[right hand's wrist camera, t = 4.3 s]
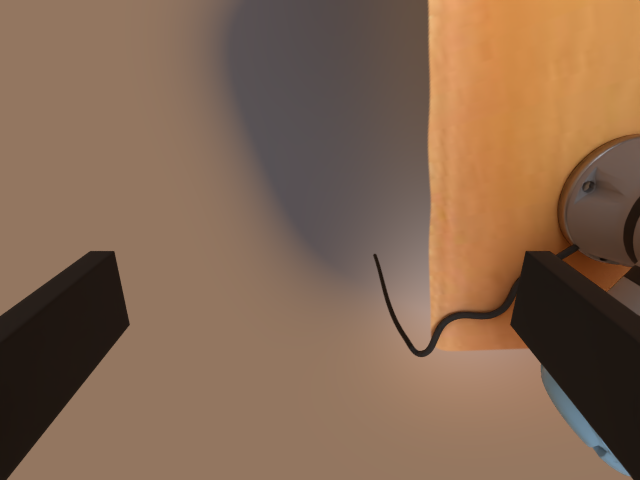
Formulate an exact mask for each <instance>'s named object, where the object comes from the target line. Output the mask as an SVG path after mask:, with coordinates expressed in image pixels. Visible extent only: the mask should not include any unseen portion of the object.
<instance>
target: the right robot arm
mask: <svg viewBox="0 0 640 480" xmlns="http://www.w3.org/2000/svg"><path fill="white" fill-rule="evenodd" d="M558 219H559V225H560V228H561V231H562V233H563V235H564V237H565V238H566V240H567V241H568V242H569V243H570V244H571V245H572V246H570V247H568V248H567V249H565V250H563V251H562V252H560V253H559V254H557V255H554V254H553V253H552V252H550V251H526V252H525V257H524V262H523V267H522V272H521V276H520V277H519V278H518V279H517V281H516V282H515V283H514V285H513V287H512V288H511V290H510V293H509V295H508V297H507V299H506V301H505V302H504V303H503V305H502V306H500V307H499V308H498V309H496V310H494V311H492V312H487V313H475V312H458V313H454V314H451V315H449V316H447V317H446V318H444V319H443V320H442V321H441V322H440V323H439V325H438V326H437V328H436V330H435V332H434V334H433V336H432V339H431V341H430V343H429V345H428V347H427V348H426V349H425V350H423V351H418V350H417V349H416V348H415V347H414V346H413V344H412V343H411V341H410V339H409V338H408V336H407V335H406V333H405V332H404V330H403V329H402V327H401V325H400V323H399V322H398V319H397V317H396V315H395V313H394V310H393V308H392V305H391V302H390V299H389V296H388V292H387V289H386V285H385V281H384V278H383V274H382V270H381V267H380V263H379V260H378V257H377V255H376V254H374V255H373V257H374V260H375V263H376V266H377V270H378V274H379V278H380V282H381V286H382V290H383V294H384V298H385V301H386V304H387V307H388V310H389V313H390V316H391V318H392V320H393V322H394V324H395V326H396V328H397V330H398V332H399V334H400V335H401V337H402V338H403V340H404V341H405V343H406V345H407V346H408V348H409V349H410V351H411V352H412V353H413V354H414V355H415V356H418V357H425V356H427V355H429V354H430V353H431V352H432V351H433V349H434V348H435V346H436V343H437V341H438V339H439V336H440V334H441V332H442V331H443V329H444V328H445V326H446V325H447V324H449V323H450V322H452V321H454V320H456V319H461V318H471V319H490V318H494V317H497V316H499V315H501V314H502V313H504V312H505V311H506V310H507V309H508V308H509V307H510V305H511V304H512V302H513V301H514V298H515V296H516V300H515V305H514V310H513V314H512V319H511V324H510V325H511V326H512V327H513V329H514V330H515V331H516V332H517V334H518V335H519V336H520V338H521V339H522V340H523V341H524V343H525V344H526V345H527V346H528V348H529V349H530V350H531V351H532V353H533V354H534V355H535V356H536V358H537V359H538V360H539V361H540V363H541V377H542V381H543V384H544V386H545V389H546V391H547V393H548V395H549V397H550V398H551V400H552V402H553V404H554V405H555V407H556V408H557V410H558V411H559V412H560V414H561V415H562V417H563V418H564V419H565V421H566V422H567V423H568V424H569V426H570V427H571V428H572V429H573V431H574V432H575V433H576V434H577V435H578V436H579V437H580V439H581V440H582V441H583V442H584V443H585V444H586V445H587V446H589V447H593V449H594V450H595V451H596V453H597V454H598V456H599V457H600V458H601V459H602V460H603V461H605V462H606V463H607V464H608V465H609V466H611V467H612V468H614V469H615V470H617V471H618V472H620V473H622V474H624V475H627V476H630V477H632V478H633V480H640V134H636V135H629V136H624V137H621V138H617V139H615V140H612V141H610V142H608V143H606V144H604V145H602V146H600V147H599V148H597V149H596V150H594V151H593V152H591V153H590V154H589V155H588V156H587V157H585V158H584V159H583V160H582V161H581V162H580V163H579V165H578V166H577V167H576V168H575V169H574V171H573V172H572V173H571V175H570V176H569V178H568V180H567V181H566V183H565V185H564V188H563V190H562V193H561V196H560V200H559V206H558ZM577 250H578V251H580V252H581V253H583V254H585V255H586V256H588V257H590V258H592V259H594V260H596V261H600V262H604V263H610V264H619V265H623V266H628V267H632V268H631V269H630V270H629V271H628V272H627V273H626V274H625V275H624V276H623V277H622V278H621V279H620V280H619V281H618V282H617V283H616V284H615V285H614V286H613V287H612V288H611V289H610V290H609V291H608V292H606V291H604V290H603V289H601V288H600V287H599V286H597V285H596V284H595V283H593V282H592V281H590V280H589V279H588V278H586V277H585V276H583V275H582V274H581V273H579V272H578V271H577V270H575V269H574V268H572V267H571V266H570V265H568V264H567V263H565V262H564V261H563V260H562V259H564V258H565V257H567V256H569V255H570V254H572V253H574V252H575V251H577ZM516 294H517V295H516ZM129 325H130V324H129V319H128V314H127V310H126V305H125V300H124V295H123V291H122V286H121V281H120V276H119V272H118V267H117V262H116V257H115V253H114V251H90V252H88V253H87V254H86V255H84V256H83V257H82V258H80V259H79V260H77V261H76V262H75V263H73V264H72V265H70V266H69V267H68V268H66V269H65V270H64V271H62V272H61V273H59V274H58V275H57V276H55V277H54V278H52V279H51V280H50V281H48V282H47V283H46V284H44V285H43V286H41V287H40V288H39V289H37V290H36V291H34V292H33V293H32V294H30V295H29V296H27V297H26V298H25V299H23V300H22V301H21V302H19V303H18V304H16V305H15V306H14V307H12V308H11V309H10V310H8V311H7V312H5V313H4V314H3V315H1V316H0V480H7V478H8V477H9V476H10V475H11V473H12V472H13V471H14V470H15V468H16V467H17V466H18V465H19V463H20V462H21V461H22V460H23V458H24V457H25V456H26V455H27V453H28V452H29V451H30V449H31V448H32V447H33V446H34V444H35V443H36V442H37V441H38V439H39V438H40V437H41V436H42V434H43V433H44V432H45V431H46V429H47V428H48V427H49V425H50V424H51V423H52V422H53V421H54V419H55V418H56V417H57V416H58V414H59V413H60V412H61V411H62V409H63V408H64V407H65V405H66V404H67V403H68V402H69V400H70V399H71V398H72V397H73V395H74V394H75V393H76V392H77V390H78V389H79V388H80V387H81V385H82V384H83V383H84V382H85V380H86V379H87V378H88V376H89V375H90V374H91V373H92V371H93V370H94V369H95V368H96V366H97V365H98V364H99V363H100V361H101V360H102V359H103V358H104V356H105V355H106V354H107V353H108V351H109V350H110V349H111V348H112V346H113V345H114V344H115V343H116V341H117V340H118V339H119V338H120V336H121V335H122V334H123V332H124V331H125V330H126V329H127V327H128V326H129Z"/></svg>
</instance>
